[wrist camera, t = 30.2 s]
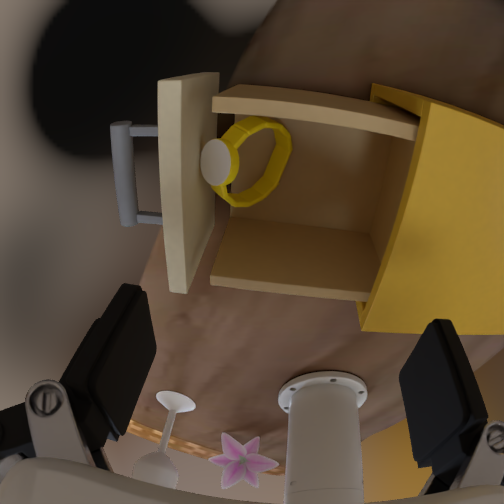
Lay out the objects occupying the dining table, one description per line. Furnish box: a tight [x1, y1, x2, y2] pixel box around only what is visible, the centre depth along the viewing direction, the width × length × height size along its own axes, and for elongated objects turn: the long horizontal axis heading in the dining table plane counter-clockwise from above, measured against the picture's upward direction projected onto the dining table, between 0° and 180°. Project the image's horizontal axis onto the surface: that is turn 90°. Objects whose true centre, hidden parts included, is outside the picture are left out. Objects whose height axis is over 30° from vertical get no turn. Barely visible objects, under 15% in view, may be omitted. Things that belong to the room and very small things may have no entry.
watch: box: [200, 116, 293, 207], centre depth 20 cm, size 6×3×6 cm
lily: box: [208, 432, 279, 489], centre depth 51 cm, size 12×12×10 cm
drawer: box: [110, 72, 420, 302], centre depth 20 cm, size 19×13×9 cm, turn 86°
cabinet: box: [356, 83, 504, 335], centre depth 19 cm, size 16×14×11 cm
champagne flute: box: [132, 391, 196, 489], centre depth 37 cm, size 7×7×24 cm
